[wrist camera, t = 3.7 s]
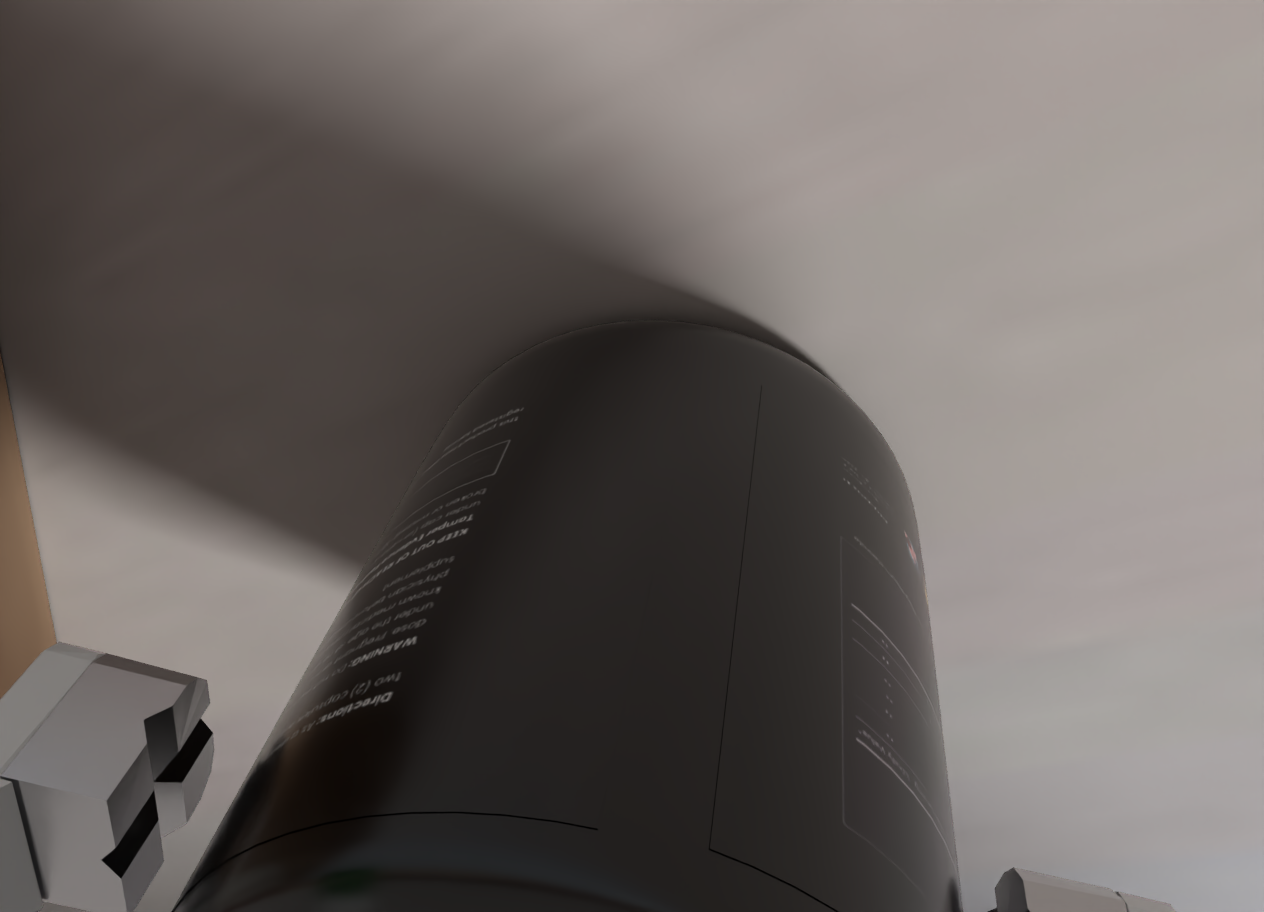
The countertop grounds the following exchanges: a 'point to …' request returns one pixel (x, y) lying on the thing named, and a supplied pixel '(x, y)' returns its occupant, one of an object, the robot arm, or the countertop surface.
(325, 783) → the supplement bottle
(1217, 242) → the countertop surface
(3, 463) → the brown flat wooden block
